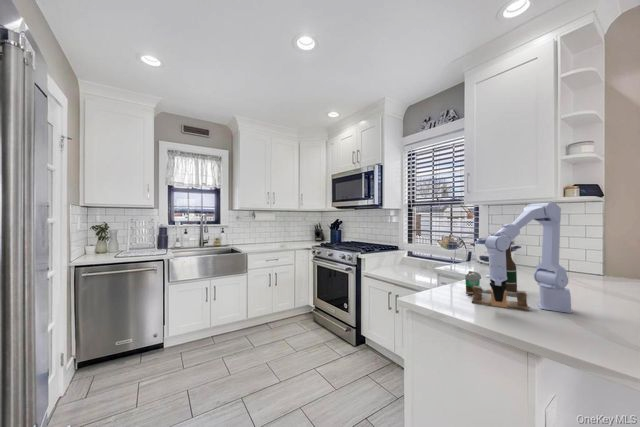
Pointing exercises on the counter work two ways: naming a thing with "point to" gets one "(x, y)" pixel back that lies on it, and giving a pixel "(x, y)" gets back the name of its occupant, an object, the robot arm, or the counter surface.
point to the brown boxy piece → (520, 295)
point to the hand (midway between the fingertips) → (498, 299)
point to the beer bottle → (510, 272)
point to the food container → (472, 281)
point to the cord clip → (495, 303)
